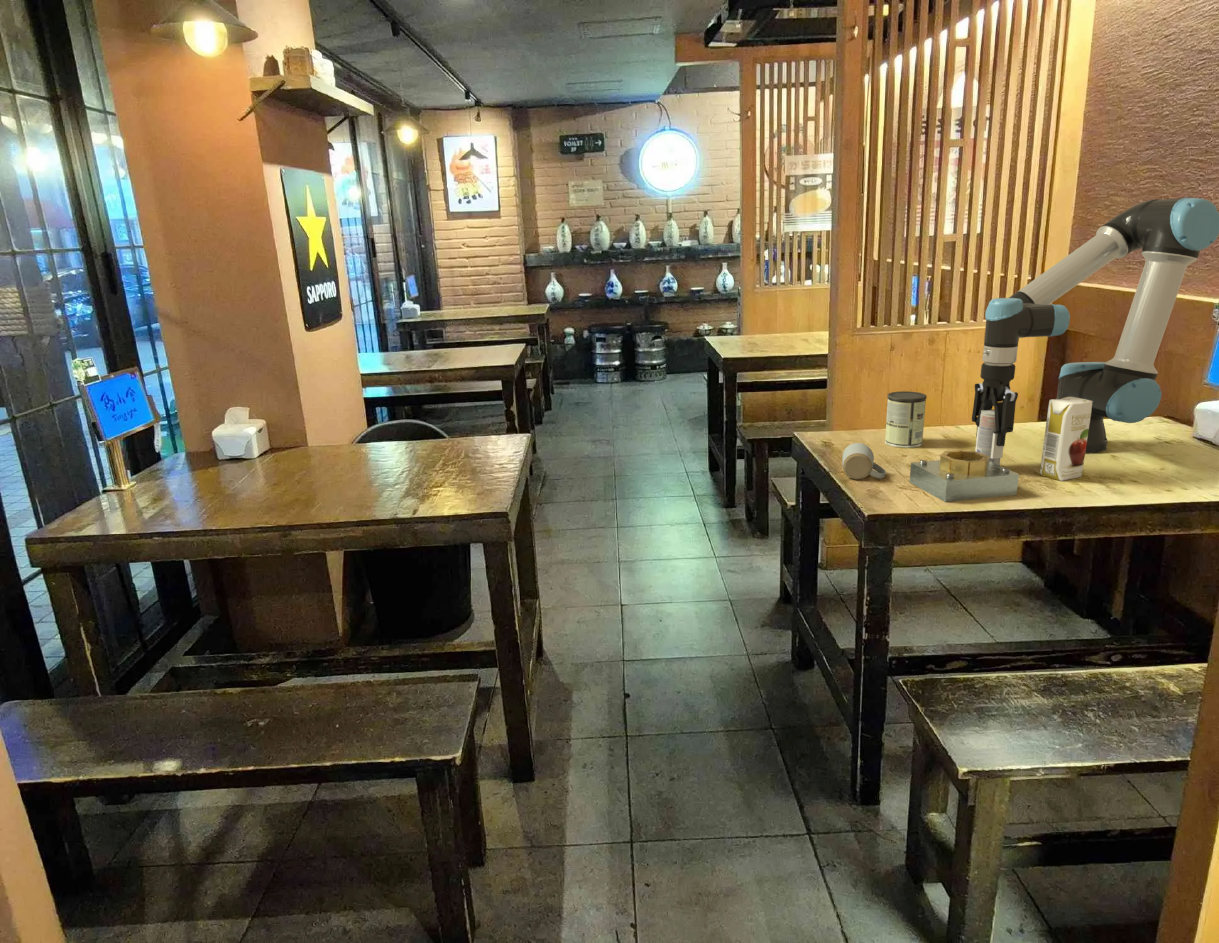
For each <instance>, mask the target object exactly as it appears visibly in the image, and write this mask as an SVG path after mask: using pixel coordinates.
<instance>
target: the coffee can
mask: <svg viewBox="0 0 1219 943" xmlns="http://www.w3.org/2000/svg"><path fill="white" fill-rule="evenodd" d="M927 397H928V396H927V395H926V394H925V393H922V392H918V391H906V390H905V391H903V390H902V391H894V392H893V391H892V392H889V393H887V404H886V405H887V408H886V418H885V419H886V420H885V421H886V422H885V423H886V424H885V437H884V438H885V439H884V443H885V445H886V446H889V447H894V448H899V449H900V448H901V449H915V448H919V447H921V446H923V444H924V443H923V441H924V428H925V416H926V415H925V414H926V404H927V403H926V402H927Z"/></svg>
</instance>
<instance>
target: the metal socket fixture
mask: <svg viewBox="0 0 1219 943" xmlns="http://www.w3.org/2000/svg"><path fill="white" fill-rule="evenodd" d="M1019 476H1020V473H1018V472H1015V471H1014V470H1013V471H1012V470H1010V468H1008V467H1003V466H999V465H997V464H994V463H992V462H990V461H989V456H987V455H984V454H982V453H980V452H976V451H972V450H965V449H964V450H963V449H955V450H945V451H943V452H942V453H941V454H940V458H939V459H938V460H924V459H921V460H919V461H916V462H914V461H913V462H910V473H909V483H910V484H911V485H913V486H915V487H918V488H919V489H921V490H923V491H924V492H926V493H928V494H930V495H931V496H933V497H935V498H937V499H939V500H941V501H943V502H944V503H949V502H960V501H961V502H962V501H969V500H971V501H972V500H979V499H990V498H998V497H1008V496H1009V497H1011V496H1016V495H1017V494H1018V487H1019V486H1018V485H1019V479H1020V477H1019Z"/></svg>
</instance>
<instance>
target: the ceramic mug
mask: <svg viewBox="0 0 1219 943" xmlns="http://www.w3.org/2000/svg"><path fill="white" fill-rule="evenodd" d="M841 456H842V458H841V459H842V462H841V463H842V466H841V467H842V470H843V472H844V474H845V475H846V476H847V477H849V478H850V479H853V480H863V479H865V478H867V477H868V476H871V477H873V478H876V479H880V480H883V479H885V476H886V475H887V471H886V470H885V469H884V468H883V467H882V466H881V465H879V464H877V463H876V462H874V460H875V458H874V452H873V450H872V449H871V448H870V447H869V446H868V445H867V444H864V443H861V442H853V443H851V444H849V445H847V447H846V448H844V450H843V452H842V455H841Z"/></svg>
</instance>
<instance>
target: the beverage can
mask: <svg viewBox="0 0 1219 943" xmlns="http://www.w3.org/2000/svg"><path fill="white" fill-rule="evenodd" d="M993 431H996V424H995V410H994V409H993V408H992V409H991V410H982V411H981V415H980V425H979V434H978V443H977V452H980V453H982V454H984V455H987V456H989V461H990V462H992V463H994V464H997V465H999V466H1000V465H1001V458H995V459H992V458H991V449H992V440H993Z"/></svg>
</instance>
